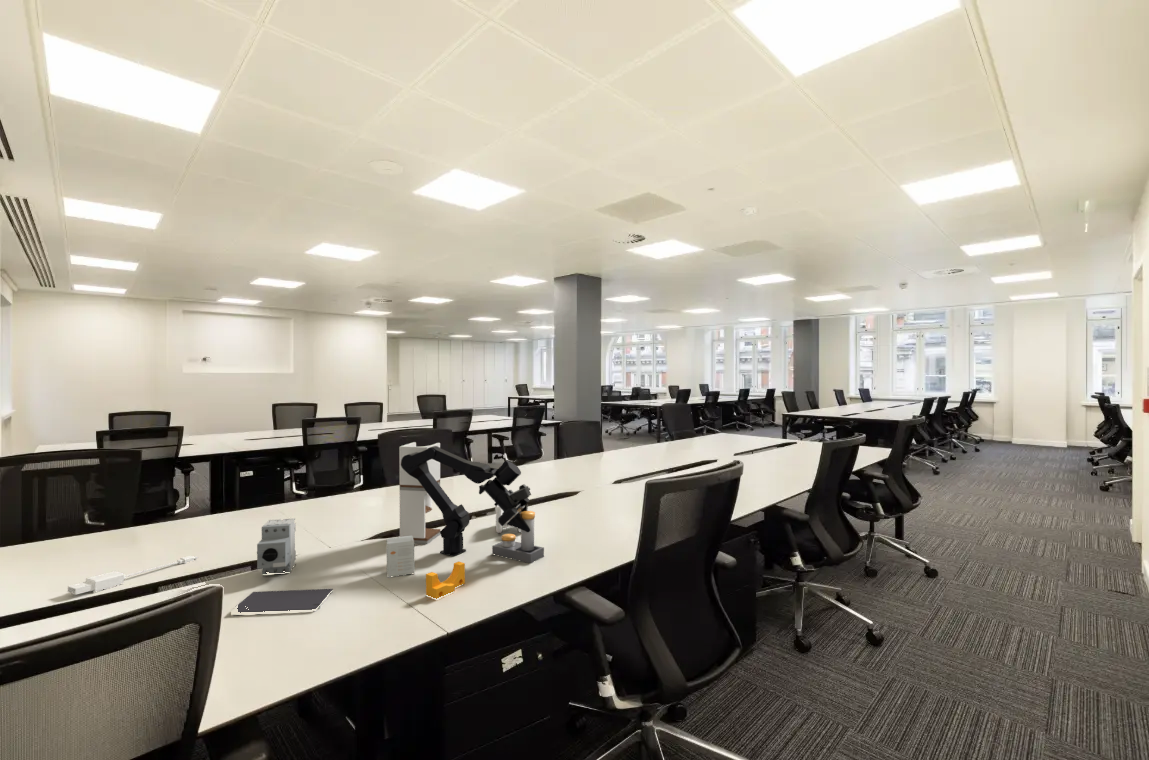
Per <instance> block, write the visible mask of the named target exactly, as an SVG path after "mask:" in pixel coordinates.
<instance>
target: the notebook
mask: <svg viewBox="0 0 1149 760" xmlns="http://www.w3.org/2000/svg"><path fill="white" fill-rule="evenodd" d="M332 590H333V591H334V589H333V588H316V589H315V588H314V589H312V588H311V589H292V590H291V589H290V590H289V589H288V590H287V589H286V590H269V591H268V590H266V591H253V592H251V593H250V594H249V595H248V596H247V597H245V598H244V599H243V600H242V601H240V602H239V603H238V604H237V605H238V608H237V609H238V612H240V613H241V612H263V611H264V612H265V611H288V610H289V611H290V610H312V609H316V608H317V607H318V606H319V605H320V604H321V603H322V601H323V600H324V599H325V598H326V597H327V595H328V594H329V593H330V592H331V591H332ZM245 606H246V607H245ZM247 607H248V608H247ZM246 608H247V609H246ZM248 609H249V610H248Z"/></svg>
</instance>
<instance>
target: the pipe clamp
mask: <svg viewBox="0 0 1149 760" xmlns="http://www.w3.org/2000/svg"><path fill="white" fill-rule="evenodd" d="M452 567H453V568H452V571H451V573H450V574H449V576H448V577H447V578H446V579H445V580H442V581H441V580H440V579H439V574H438V573H436V572H433V571H431V572H428V573H426V574H425V596H426V595H428V596H431V597H433V598H436V599H437V598H439V597H441V596H444V595H446V594H448V593H451V592H453V591H455V590H456V589H455V587H457V586H459V585H462V584H464V583H465V584H466V563H465V562H462V561H456V562H454V563H453V566H452Z"/></svg>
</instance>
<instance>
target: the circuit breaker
mask: <svg viewBox="0 0 1149 760" xmlns="http://www.w3.org/2000/svg"><path fill="white" fill-rule="evenodd" d="M295 520H296V518H295V517H294V518H284V519H281V518H279V519H268V521H267V522H265V523H264V524H263V525H262V526H261V539H260V540H259V542H258V543H257V544H256V555H257V557H256V559H257V560H256V561H257V562H256V563H257V564H256V565H257V567H256V569H257V570H261V575H262V574H267V573H266V572H269V573H285V572H290V571H291V569H292V568H293V566H294V565H295V562H296V560H297V555H296V536H295V535H296V531H297V530H296V526H297V525H296V522H295ZM295 566H296V565H295ZM295 566H294V567H295ZM293 569H294V568H293ZM293 569H292V570H293ZM283 571H285V572H283ZM291 572H292V571H291ZM291 572H290V573H291Z"/></svg>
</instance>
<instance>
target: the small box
mask: <svg viewBox="0 0 1149 760" xmlns="http://www.w3.org/2000/svg"><path fill="white" fill-rule="evenodd" d="M415 572H416V571H415V543H414V539H413V536H404V537H400V536H398V537H397V536H396V537H388V538H386V575H387V578H388V577H389V578H392V577H391V576H396V577H399V576H398V575H403V576H407V575H406V574H411V575H413V574H412V573H414V574H415Z"/></svg>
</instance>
